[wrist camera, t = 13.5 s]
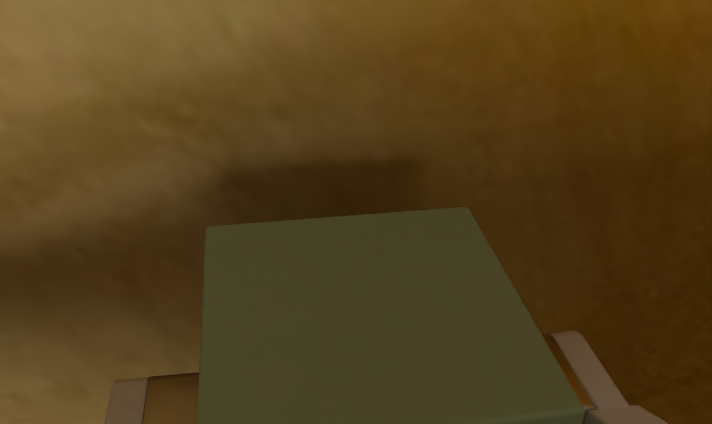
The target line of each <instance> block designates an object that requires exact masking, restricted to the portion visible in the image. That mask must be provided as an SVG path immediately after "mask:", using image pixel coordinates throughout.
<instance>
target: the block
mask: <svg viewBox="0 0 712 424" xmlns="http://www.w3.org/2000/svg"><path fill="white" fill-rule="evenodd" d="M583 416H584V407H583V405H582V403H581V402H580V400H579V398H578V396H577V395H576V393H575V391H574V389H573V388H572V386H571V384H570V383H569V381H568V379H567V377H566V376H565V374H564V372H563V370H562V369H561V367H560V365H559V364H558V362H557V360H556V358H555V357H554V355H553V353H552V351H551V350H550V348H549V346H548V345H547V343H546V341H545V339H544V338H543V336H542V334H541V332H540V331H539V329H538V327H537V326H536V324H535V322H534V320H533V319H532V317H531V315H530V313H529V312H528V310H527V308H526V307H525V305H524V303H523V301H522V300H521V298H520V296H519V294H518V293H517V291H516V289H515V288H514V286H513V284H512V282H511V281H510V279H509V277H508V275H507V274H506V272H505V270H504V269H503V267H502V265H501V263H500V262H499V260H498V258H497V256H496V255H495V253H494V251H493V250H492V248H491V246H490V244H489V243H488V241H487V239H486V237H485V236H484V234H483V232H482V231H481V229H480V227H479V225H478V224H477V222H476V220H475V218H474V217H473V215H472V213H471V212H470V210H469V208H467V207H453V208H440V209H427V210H414V211H401V212H388V213H375V214H362V215H349V216H336V217H323V218H310V219H297V220H284V221H271V222H257V223H244V224H231V225H218V226H209V227H207V229H206V232H205V254H204V277H203V300H202V322H201V345H200V367H199V390H198V413H197V424H581V423H582V419H583Z"/></svg>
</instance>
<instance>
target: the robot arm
mask: <svg viewBox="0 0 712 424" xmlns="http://www.w3.org/2000/svg"><path fill="white" fill-rule="evenodd" d="M542 336H543V338H544V339H545V341H546V343H547V345H548V346H549V348H550V350H551V351H552V353H553V355H554V357H555V358H556V360H557V362H558V364H559V365H560V367H561V369H562V370H563V372H564V374H565V376H566V377H567V379H568V381H569V383H570V384H571V386H572V388H573V389H574V391H575V393H576V395H577V396H578V398H579V400H580V402H581V403H582V405H583V407H584V416H583V419H582V423H581V424H668V423H667V422H665V421H664V420H662V419H660V418H659V417H657V416H655V415H654V414H652V413H651V412H649V411H647V410H646V409H644V408H642V407H641V406H639V405H628V403H627V402H626V400H625V399H624V397H623V396H622V394H621V393H620V391H619V390H618V388H617V387H616V385H615V384H614V382H613V381H612V379H611V378H610V376H609V375H608V373H607V372H606V370H605V369H604V367H603V366H602V364H601V363H600V361H599V360H598V358H597V357H596V355H595V354H594V352H593V351H592V349H591V348H590V346H589V345H588V343H587V342H586V340H585V339H584V337H583V336H582V334H581V333H579V332H578V331H576V330H573V331H564V332H556V333H547V334H542ZM198 390H199V372H198V373H186V374H174V375H162V376H151V377H146V378H134V379H122V380H116V381H115V383H114V385H113V387H112V388H111V392H110V398H109V403H108V408H107V413H106V418H105V424H197V413H198Z"/></svg>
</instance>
